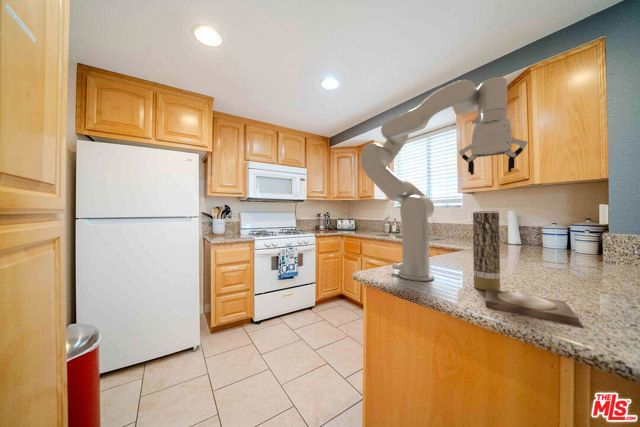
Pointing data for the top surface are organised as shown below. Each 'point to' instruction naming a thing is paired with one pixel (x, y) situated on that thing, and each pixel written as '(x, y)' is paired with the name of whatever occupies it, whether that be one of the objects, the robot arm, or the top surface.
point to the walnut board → (531, 306)
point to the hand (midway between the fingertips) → (490, 172)
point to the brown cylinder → (486, 250)
